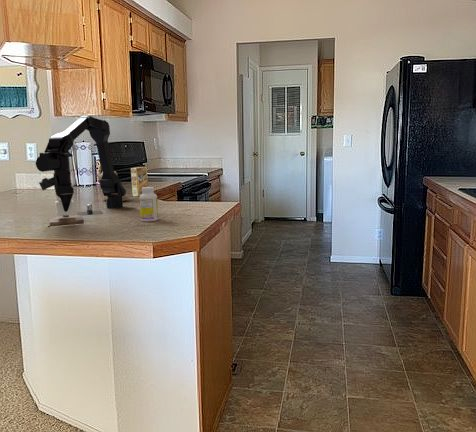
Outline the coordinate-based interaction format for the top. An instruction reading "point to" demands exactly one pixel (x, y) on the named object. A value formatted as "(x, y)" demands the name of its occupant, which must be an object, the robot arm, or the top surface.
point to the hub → (66, 220)
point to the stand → (89, 211)
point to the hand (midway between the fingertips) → (65, 210)
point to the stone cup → (115, 193)
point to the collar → (60, 208)
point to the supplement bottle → (148, 205)
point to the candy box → (139, 180)
